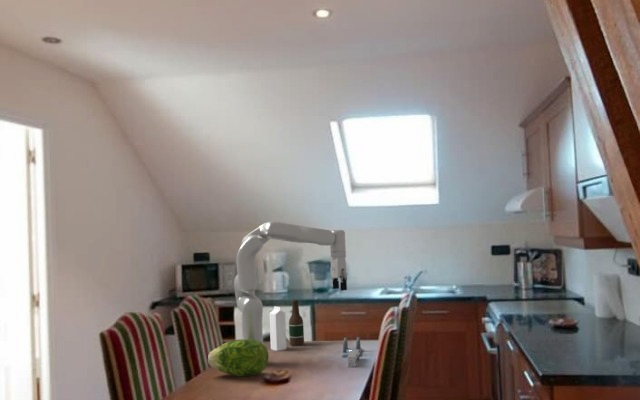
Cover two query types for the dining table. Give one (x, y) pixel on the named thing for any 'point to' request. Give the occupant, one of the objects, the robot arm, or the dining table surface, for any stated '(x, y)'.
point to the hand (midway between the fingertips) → (339, 289)
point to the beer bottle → (296, 326)
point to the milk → (277, 329)
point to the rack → (346, 348)
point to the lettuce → (240, 357)
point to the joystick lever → (353, 357)
